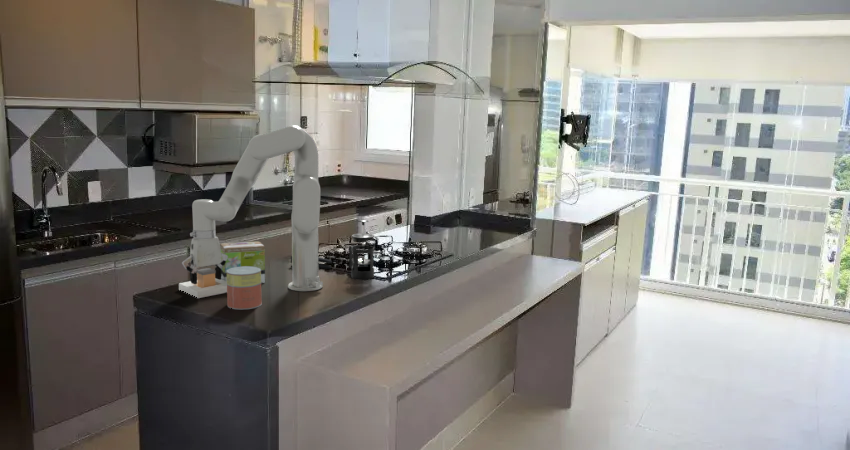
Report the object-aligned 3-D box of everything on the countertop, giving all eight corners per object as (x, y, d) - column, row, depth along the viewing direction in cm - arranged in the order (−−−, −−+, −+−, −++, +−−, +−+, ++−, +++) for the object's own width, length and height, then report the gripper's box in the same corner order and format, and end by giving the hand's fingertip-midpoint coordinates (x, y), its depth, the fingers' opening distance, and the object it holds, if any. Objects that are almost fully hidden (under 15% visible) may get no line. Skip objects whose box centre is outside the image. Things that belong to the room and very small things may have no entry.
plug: (216, 289, 235) (215, 270, 233) (203, 291, 231) (203, 272, 230) (209, 286, 238) (208, 267, 237) (197, 288, 234) (196, 270, 233)
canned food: (263, 299, 225) (263, 266, 223) (259, 309, 214) (258, 274, 212) (230, 299, 224) (229, 266, 222) (224, 309, 213) (223, 274, 211)
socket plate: (234, 290, 235) (233, 282, 234) (197, 298, 225) (197, 289, 224) (214, 283, 244) (214, 275, 244) (179, 289, 234) (178, 281, 234)
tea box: (225, 287, 240) (224, 248, 237) (220, 280, 248) (219, 242, 246) (265, 283, 246) (265, 245, 244) (259, 276, 255) (258, 240, 253)
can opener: (288, 268, 271) (287, 255, 270) (294, 264, 277) (293, 251, 276) (328, 270, 268) (328, 257, 267) (333, 267, 275) (333, 254, 274)
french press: (380, 276, 260) (381, 220, 256) (366, 281, 252) (366, 223, 248) (357, 272, 266) (357, 216, 262) (342, 276, 258) (342, 219, 254)
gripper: (186, 238, 222) (188, 287, 225) (232, 232, 235) (233, 279, 238) (176, 235, 227) (178, 283, 230) (221, 229, 240) (222, 275, 243)
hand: (206, 281), depth 234 cm, fingers open, 9 cm apart
